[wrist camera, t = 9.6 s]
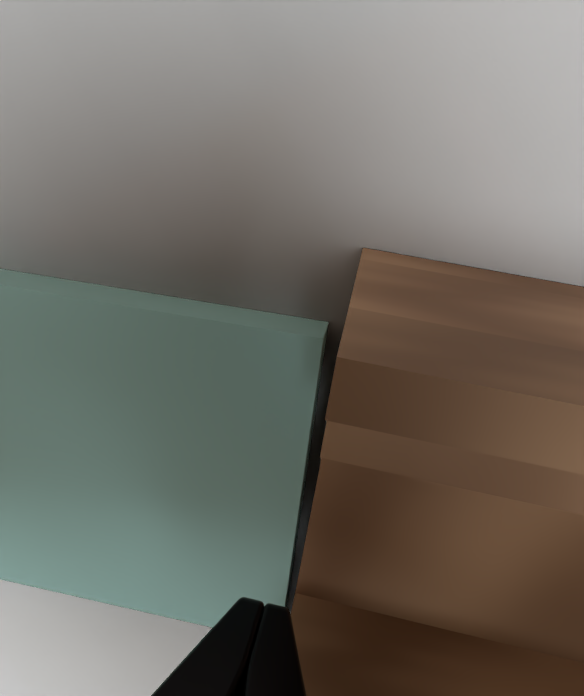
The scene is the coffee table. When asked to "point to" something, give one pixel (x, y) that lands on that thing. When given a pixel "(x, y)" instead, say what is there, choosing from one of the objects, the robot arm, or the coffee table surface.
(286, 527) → the cover plate
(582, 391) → the brown wooden box
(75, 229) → the coffee table surface
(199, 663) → the robot arm
